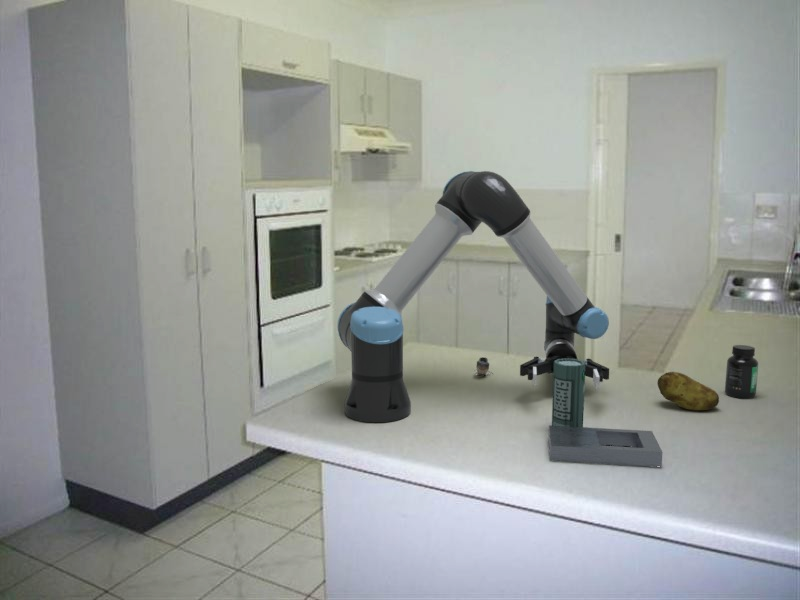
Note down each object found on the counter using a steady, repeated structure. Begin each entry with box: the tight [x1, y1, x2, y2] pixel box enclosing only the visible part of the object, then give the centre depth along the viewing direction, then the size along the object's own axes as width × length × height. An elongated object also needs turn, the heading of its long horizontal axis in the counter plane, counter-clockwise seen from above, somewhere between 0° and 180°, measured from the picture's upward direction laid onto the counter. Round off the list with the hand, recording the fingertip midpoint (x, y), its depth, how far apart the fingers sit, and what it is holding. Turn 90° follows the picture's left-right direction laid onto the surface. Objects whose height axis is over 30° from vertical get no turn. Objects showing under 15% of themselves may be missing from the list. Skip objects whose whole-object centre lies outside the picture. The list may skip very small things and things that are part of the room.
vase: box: [474, 357, 494, 377], centre depth 187 cm, size 5×5×6 cm
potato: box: [657, 371, 720, 411], centre depth 161 cm, size 8×13×8 cm, turn 51°
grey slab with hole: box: [548, 425, 664, 468], centre depth 135 cm, size 20×11×3 cm, turn 80°
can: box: [551, 358, 586, 427], centre depth 146 cm, size 6×6×15 cm
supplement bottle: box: [724, 344, 759, 400], centre depth 170 cm, size 7×7×12 cm
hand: (566, 381), depth 155 cm, fingers open, 13 cm apart
